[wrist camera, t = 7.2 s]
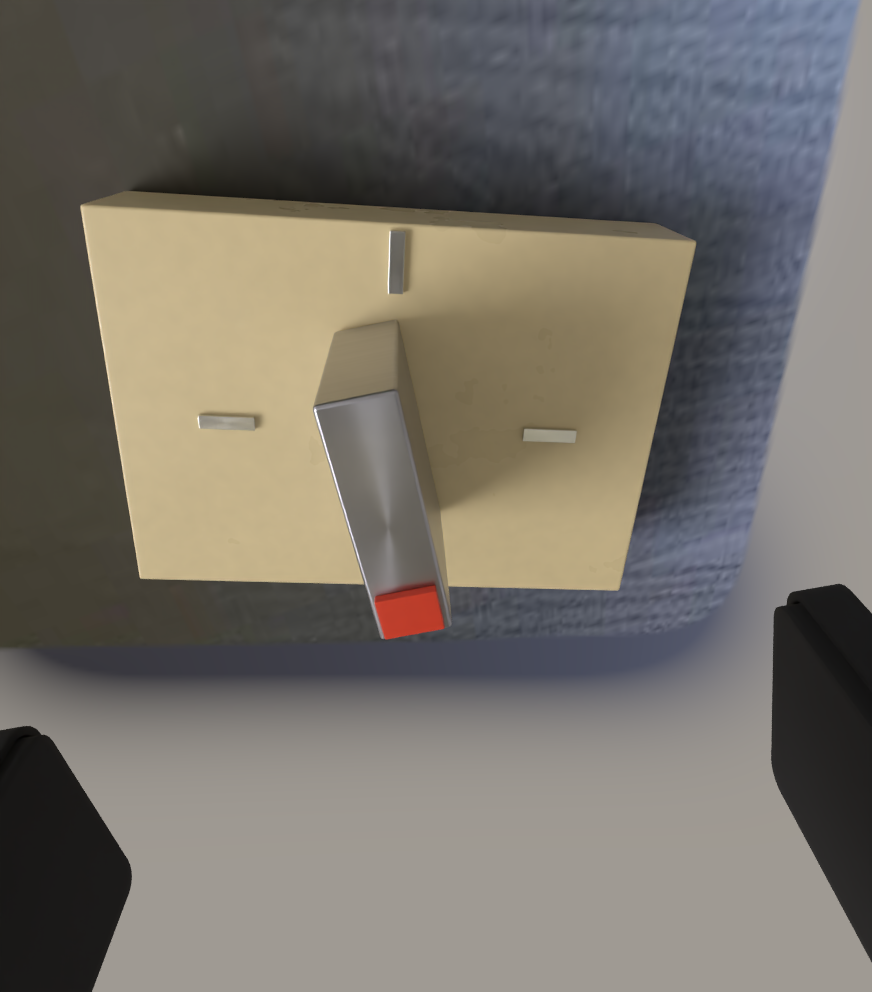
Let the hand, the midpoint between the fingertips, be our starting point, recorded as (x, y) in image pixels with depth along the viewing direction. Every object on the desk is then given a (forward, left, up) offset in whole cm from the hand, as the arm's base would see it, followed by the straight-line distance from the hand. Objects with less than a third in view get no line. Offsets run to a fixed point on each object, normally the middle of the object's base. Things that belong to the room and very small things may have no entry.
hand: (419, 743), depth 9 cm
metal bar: (0, 0, -11) cm, 11 cm away
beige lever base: (0, 0, -14) cm, 14 cm away
